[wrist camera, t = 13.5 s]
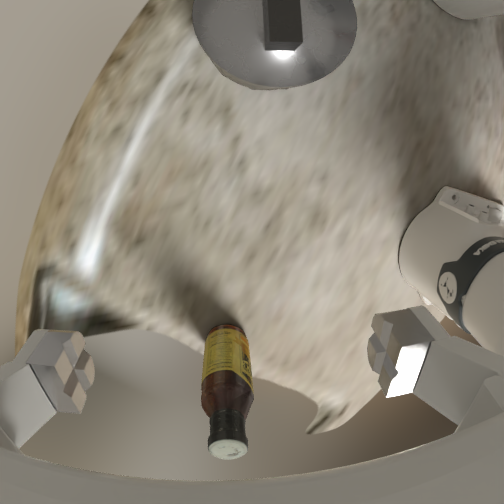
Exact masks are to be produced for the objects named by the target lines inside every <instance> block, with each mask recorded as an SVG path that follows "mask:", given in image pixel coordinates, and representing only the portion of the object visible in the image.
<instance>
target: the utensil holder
mask: <svg viewBox="0 0 504 504" xmlns="http://www.w3.org/2000/svg"><path fill="white" fill-rule="evenodd" d="M433 1H434V2H435V3H436V4H437V5H438V6H439V7H440V8H442V9H443V10H444V11H446V12H447V13H449V14H451V15H452V16H455V17H457V18H460V19H465V20H470V19H477V18H483V17H491V16H496V15H503V14H504V0H433Z"/></svg>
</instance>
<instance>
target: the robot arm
mask: <svg viewBox="0 0 504 504" xmlns="http://www.w3.org/2000/svg"><path fill="white" fill-rule="evenodd" d="M453 195H454V197H453V199H452V196H453ZM399 265H400V270H401V273H402V276H403V278H404V279H405V281H406V282H407V283H408V284H409V285H410V286H411V287H413V288H414V289H416V290H417V291H418V292H419V295H420V297H421V299H422V301H423V302H425V303H426V304H427V305H431V304H433V305H434V306H435V307H436V308H438V309H439V310H440V311H441V312H442V313H444V314H445V315H446V316H447V317H448V318H450V319H452V320H454V321H455V323H456V324H457V325H458V326H459V327H460V328H461V329H463V330H464V331H465V332H466V333H469V334H472V335H473V336H474V337H475V339H476V340H477V341H478V342H479V343H480V344H481V346H482V347H483V348H482V347H480V346H477V345H475V344H473V343H470V342H468V341H466V340H464V339H461V338H459V337H457V336H453V337H451V336H450V335H449V334H448V333H447V332H446V330H445V329H444V328H443V327H442V326H441V324H440V323H439V322H438V321H437V320H436V319H435V318H434V316H433V315H432V314H431V313H430V312H429V311H428V310H427V308H426V307H424V306H416V307H411V308H407V309H403V310H397V311H391V312H385V313H378V314H375V315H374V317H373V320H372V325H371V327H372V328H373V330H374V334H373V335H372V336H371V337H370V338H369V341H368V347H367V352H368V360H369V364H370V366H371V368H372V370H373V371H375V372H376V373H378V374H380V376H379V380H378V382H379V384H380V386H381V388H382V390H383V392H384V394H385V396H386V398H388V397H392V396H397V395H401V394H406V393H410V392H413V394H415V395H416V396H417V397H419V398H420V399H422V400H423V401H425V402H426V403H427V404H429V405H430V406H432V407H433V408H434V409H436V410H437V411H439V412H440V413H442V414H443V415H444V416H446V417H447V418H449V419H450V420H451V421H453V422H454V423H456V424H457V425H459V426H458V427H457V429H456V431H455V432H454V434H452V435H449V436H447V437H444V438H441V439H439V440H436V441H433V442H430V443H427V444H425V445H422V446H419V447H416V448H413V449H409V450H406V451H403V452H400V453H396V454H393V455H389V456H386V457H382V458H379V459H374V460H370V461H367V462H363V463H358V464H353V465H349V466H344V467H339V468H334V469H329V470H323V471H317V472H311V473H304V474H297V475H290V476H281V477H272V478H261V479H247V480H223V481H187V480H165V479H150V478H140V477H129V476H122V475H114V474H107V473H101V472H95V471H89V470H84V469H79V468H74V467H69V466H64V465H60V464H55V463H51V462H48V461H44V460H40V459H36V458H33V457H29V456H26V455H24V454H23V453H22V452H21V451H20V450H19V448H20V447H21V446H22V445H23V444H24V443H25V442H26V441H27V440H28V439H29V438H30V437H31V436H32V435H33V434H35V433H36V432H37V431H38V430H39V429H40V428H41V427H42V426H43V425H44V424H45V423H46V422H47V421H48V420H49V419H50V418H51V417H52V416H53V415H54V414H56V411H59V412H68V413H77V414H81V411H82V408H83V406H84V403H85V401H86V399H87V396H86V393H85V391H86V390H87V389H88V388H90V387H91V386H92V383H93V381H94V373H95V368H94V364H93V360H92V358H91V355H90V354H89V353H87V352H86V351H85V350H84V347H85V344H86V343H85V340H84V338H83V336H82V334H81V333H79V332H78V331H61V330H42V329H38V330H35V331H34V332H33V333H32V334H31V336H30V337H29V339H28V340H27V341H26V343H25V344H24V346H23V347H22V348H21V350H20V351H19V353H18V354H17V356H16V357H15V358H14V360H13V362H7V363H6V364H4V365H2V366H0V504H504V206H503V205H501V204H499V203H497V202H494V201H491V200H488V199H485V198H483V197H480V196H477V195H474V194H471V193H468V192H465V191H462V190H458V189H455V188H452V187H449V186H445V187H443V188H442V189H441V190H440V191H439V193H438V194H437V196H436V198H435V199H434V201H433V202H432V203H431V204H430V205H429V206H428V207H426V208H425V209H424V210H423V211H421V212H420V213H419V214H418V215H417V216H416V217H415V219H414V220H413V221H412V222H411V224H410V225H409V227H408V229H407V231H406V233H405V235H404V237H403V240H402V243H401V247H400V253H399Z"/></svg>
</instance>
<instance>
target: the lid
mask: <svg viewBox="0 0 504 504" xmlns="http://www.w3.org/2000/svg"><path fill="white" fill-rule="evenodd" d="M192 18H193V26H194V29H195V33H196V36H197V38H198V40H199V43H200V45H201V46H202V48H203V50H204V51H205V53H206V54H207V55H208V56H209V58H210V59H211V60H212V61H213V62H214V63H215V64H216V65H217V66H219V67H220V68H221V69H223V70H224V71H225V72H227V73H228V74H230V75H232V76H234V77H235V78H237V79H240V80H242V81H245V82H247V83H250V84H254V85H257V86H263V87H269V88H291V87H297V86H302V85H305V84H309V83H312V82H314V81H316V80H319V79H321V78H323V77H325V76H326V75H328V74H330V73H331V72H332V71H334V70H335V69H336V68H337V67H338V66H339V65H340V64H341V63H342V62H343V61H344V60H345V58H346V57H347V55H348V54H349V53H350V51H351V48H352V46H353V44H354V41H355V37H356V31H357V17H356V11H355V7H354V4H353V1H352V0H194V3H193V11H192Z"/></svg>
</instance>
